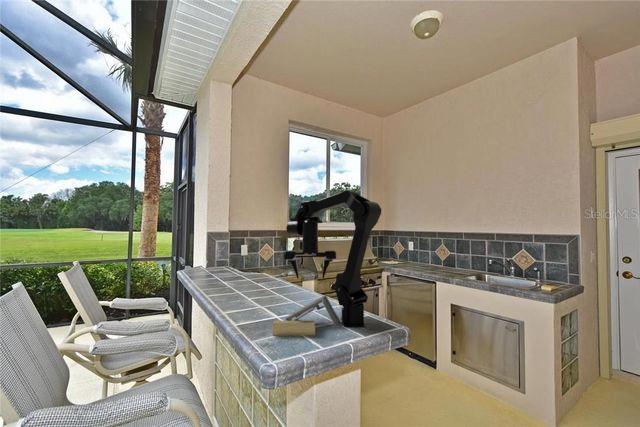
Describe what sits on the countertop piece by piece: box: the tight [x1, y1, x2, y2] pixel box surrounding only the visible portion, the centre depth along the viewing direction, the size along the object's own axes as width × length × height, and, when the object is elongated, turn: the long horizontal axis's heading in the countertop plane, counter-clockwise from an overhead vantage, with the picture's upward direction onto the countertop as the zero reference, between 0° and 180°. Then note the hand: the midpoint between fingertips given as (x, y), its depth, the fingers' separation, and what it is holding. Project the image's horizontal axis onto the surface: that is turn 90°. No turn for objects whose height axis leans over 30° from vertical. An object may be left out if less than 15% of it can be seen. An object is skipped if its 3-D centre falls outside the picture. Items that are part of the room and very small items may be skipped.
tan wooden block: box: [272, 320, 316, 337], centre depth 82 cm, size 12×3×4 cm, turn 90°
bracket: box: [285, 294, 342, 327], centre depth 88 cm, size 10×14×10 cm
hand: (310, 278), depth 103 cm, fingers open, 9 cm apart
